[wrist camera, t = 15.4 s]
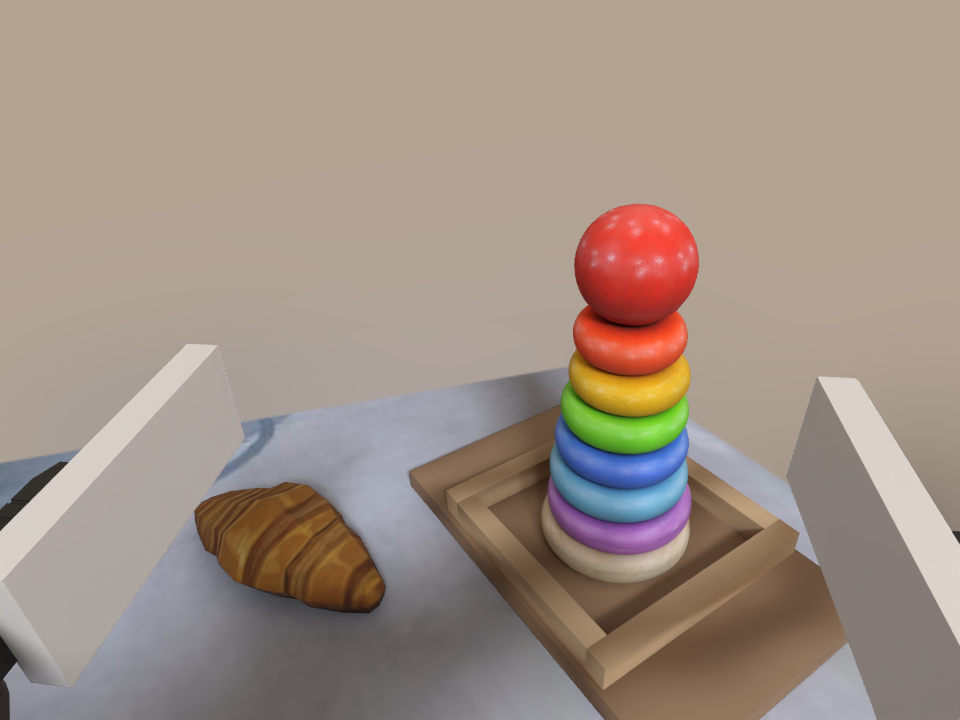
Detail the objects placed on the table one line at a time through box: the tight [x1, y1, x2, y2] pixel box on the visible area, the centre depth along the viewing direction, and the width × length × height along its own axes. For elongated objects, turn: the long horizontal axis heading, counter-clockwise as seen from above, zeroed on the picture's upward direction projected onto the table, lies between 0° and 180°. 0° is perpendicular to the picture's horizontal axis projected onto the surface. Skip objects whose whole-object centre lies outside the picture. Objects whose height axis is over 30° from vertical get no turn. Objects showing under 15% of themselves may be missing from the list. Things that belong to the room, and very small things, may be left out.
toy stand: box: [409, 405, 848, 720], centre depth 36 cm, size 22×14×3 cm, turn 33°
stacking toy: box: [541, 204, 699, 583], centre depth 31 cm, size 8×8×19 cm
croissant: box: [194, 482, 386, 613], centre depth 36 cm, size 14×7×5 cm, turn 60°
